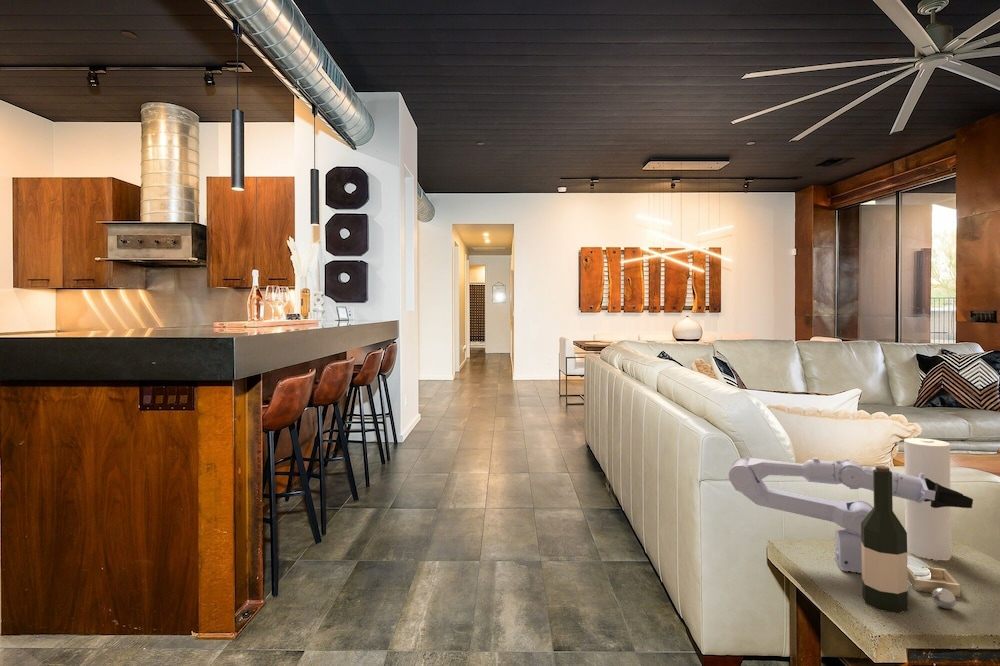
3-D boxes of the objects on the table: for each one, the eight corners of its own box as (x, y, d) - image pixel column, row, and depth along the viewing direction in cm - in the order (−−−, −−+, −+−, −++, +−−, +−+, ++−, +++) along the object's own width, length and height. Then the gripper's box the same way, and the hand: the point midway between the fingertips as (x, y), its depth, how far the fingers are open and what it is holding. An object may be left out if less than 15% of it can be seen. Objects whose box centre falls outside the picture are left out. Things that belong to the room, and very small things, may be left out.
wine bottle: (853, 593, 121) (851, 462, 121) (890, 593, 121) (888, 462, 120) (878, 613, 113) (875, 472, 112) (918, 613, 112) (916, 472, 112)
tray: (915, 590, 122) (915, 579, 121) (903, 574, 129) (903, 564, 129) (960, 596, 119) (960, 585, 118) (944, 579, 126) (944, 569, 126)
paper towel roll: (959, 562, 135) (957, 444, 134) (915, 558, 138) (913, 443, 137) (939, 547, 144) (938, 436, 143) (899, 544, 147) (897, 435, 146)
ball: (936, 610, 113) (935, 591, 113) (928, 601, 117) (928, 583, 117) (959, 613, 112) (959, 594, 112) (951, 604, 116) (951, 586, 115)
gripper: (903, 471, 123) (979, 487, 117) (892, 465, 136) (960, 479, 130) (898, 501, 123) (974, 519, 117) (888, 492, 136) (956, 508, 129)
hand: (966, 500), depth 123 cm, fingers open, 7 cm apart
